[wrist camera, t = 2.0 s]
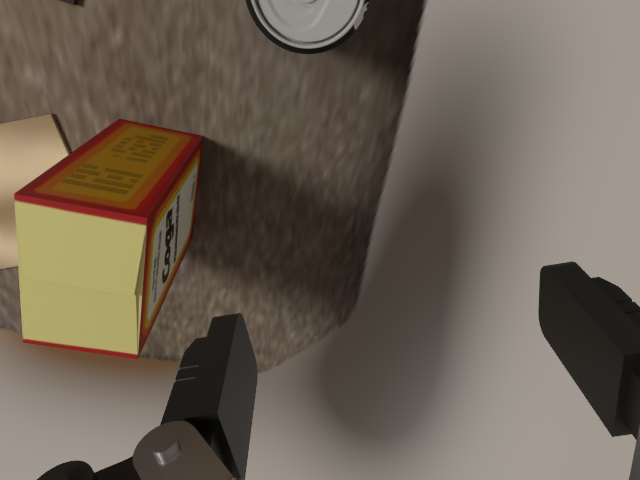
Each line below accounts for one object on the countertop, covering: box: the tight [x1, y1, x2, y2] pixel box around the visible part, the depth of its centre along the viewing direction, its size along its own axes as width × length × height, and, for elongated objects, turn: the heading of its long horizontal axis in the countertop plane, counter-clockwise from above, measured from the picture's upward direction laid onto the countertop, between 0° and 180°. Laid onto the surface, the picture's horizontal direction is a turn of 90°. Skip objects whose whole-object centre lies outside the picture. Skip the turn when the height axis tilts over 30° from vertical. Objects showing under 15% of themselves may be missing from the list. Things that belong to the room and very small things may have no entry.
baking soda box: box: [14, 119, 203, 359], centre depth 34 cm, size 10×6×16 cm
